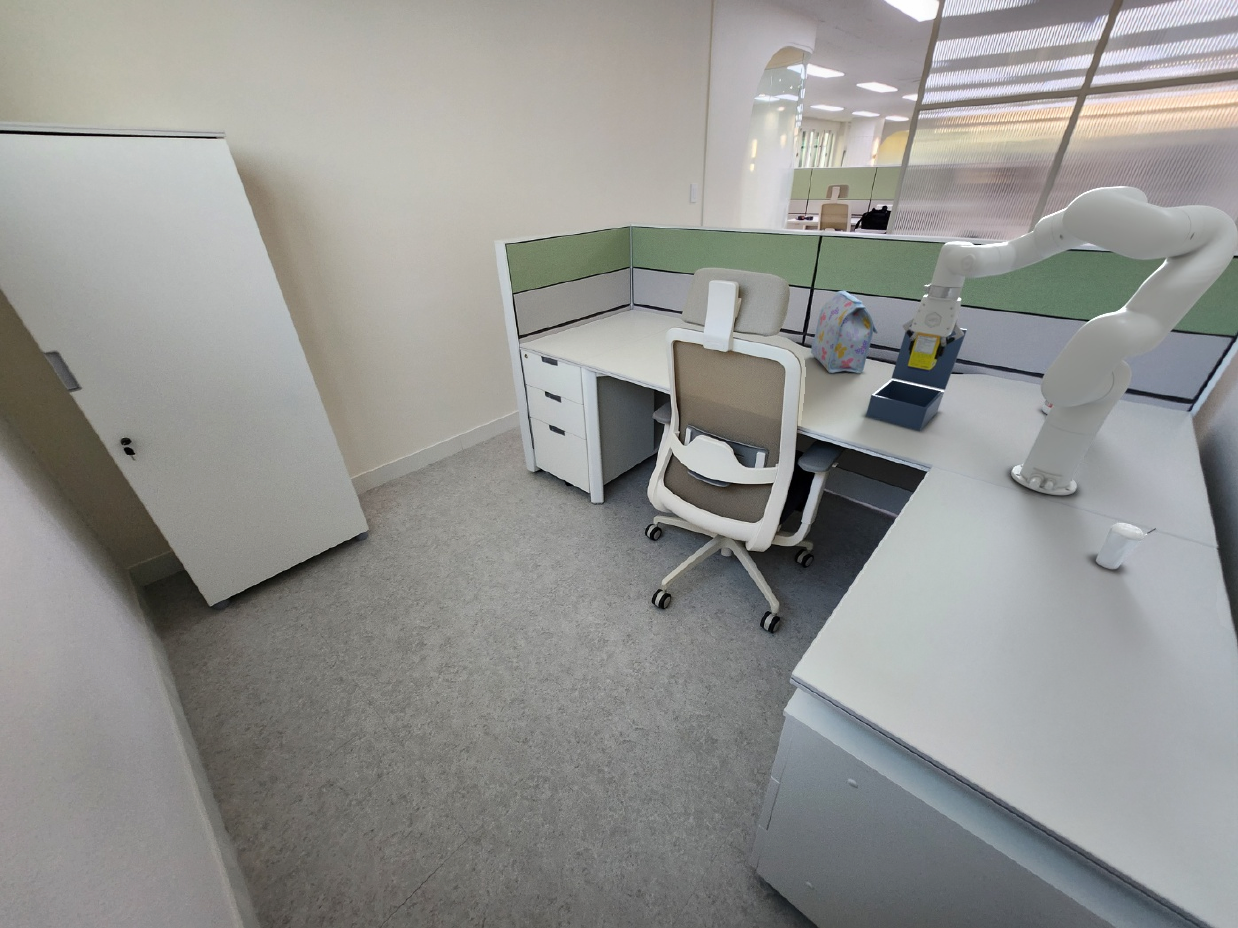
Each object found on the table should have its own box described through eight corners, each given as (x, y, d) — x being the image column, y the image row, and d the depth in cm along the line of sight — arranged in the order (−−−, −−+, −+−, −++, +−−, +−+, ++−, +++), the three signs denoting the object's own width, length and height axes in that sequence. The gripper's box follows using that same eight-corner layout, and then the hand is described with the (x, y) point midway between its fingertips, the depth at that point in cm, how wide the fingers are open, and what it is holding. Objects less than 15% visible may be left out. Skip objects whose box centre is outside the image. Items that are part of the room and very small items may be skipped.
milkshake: (1130, 576, 90) (1159, 535, 85) (1093, 566, 93) (1119, 526, 88) (1124, 562, 94) (1152, 521, 88) (1089, 553, 96) (1114, 513, 91)
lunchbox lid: (966, 329, 139) (970, 327, 143) (908, 321, 149) (913, 318, 152) (944, 389, 148) (949, 386, 152) (891, 378, 158) (896, 374, 161)
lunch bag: (871, 374, 182) (889, 302, 168) (826, 375, 182) (841, 303, 169) (847, 355, 201) (862, 289, 187) (807, 355, 202) (819, 290, 188)
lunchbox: (919, 431, 142) (927, 408, 138) (865, 416, 151) (871, 395, 148) (937, 412, 152) (944, 390, 149) (885, 399, 162) (891, 379, 158)
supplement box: (934, 367, 142) (946, 330, 137) (928, 373, 139) (940, 335, 133) (912, 363, 146) (923, 327, 140) (906, 368, 142) (917, 331, 136)
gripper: (905, 290, 134) (888, 353, 143) (977, 298, 123) (954, 365, 133) (914, 286, 138) (897, 347, 148) (984, 293, 128) (961, 359, 137)
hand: (924, 355), depth 140 cm, fingers closed on supplement box, 6 cm apart
